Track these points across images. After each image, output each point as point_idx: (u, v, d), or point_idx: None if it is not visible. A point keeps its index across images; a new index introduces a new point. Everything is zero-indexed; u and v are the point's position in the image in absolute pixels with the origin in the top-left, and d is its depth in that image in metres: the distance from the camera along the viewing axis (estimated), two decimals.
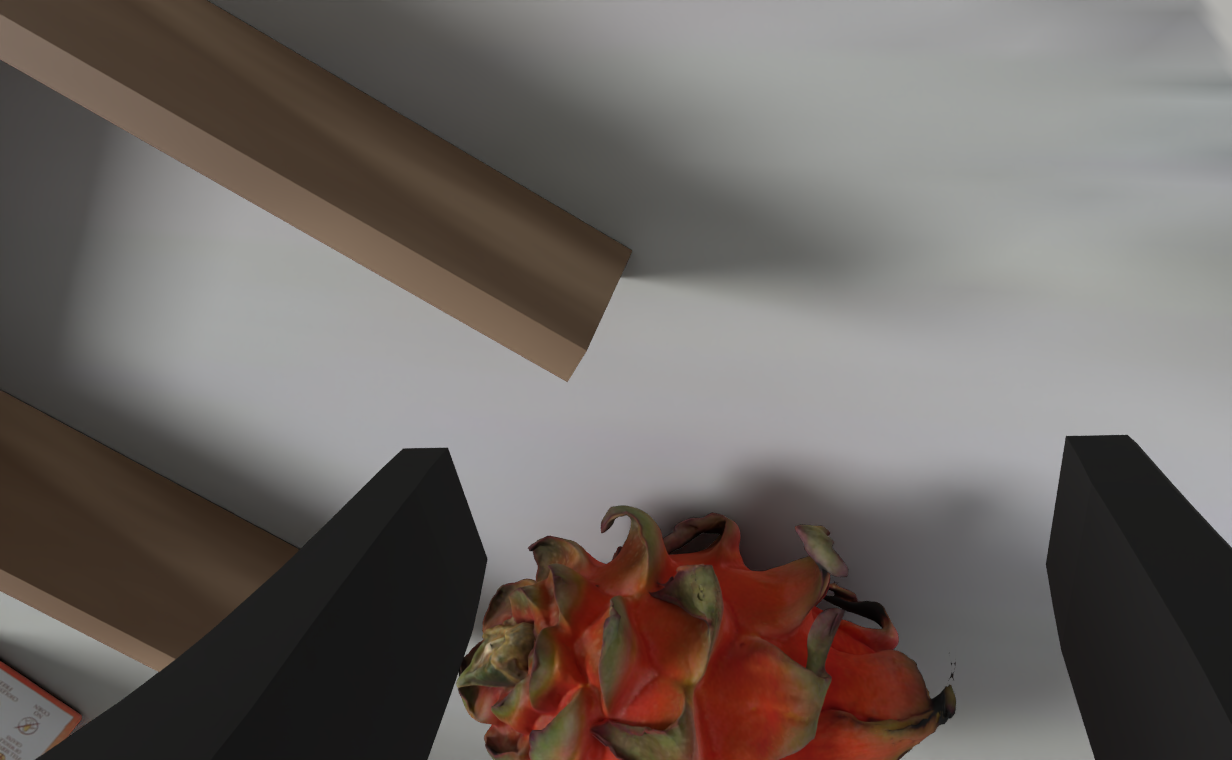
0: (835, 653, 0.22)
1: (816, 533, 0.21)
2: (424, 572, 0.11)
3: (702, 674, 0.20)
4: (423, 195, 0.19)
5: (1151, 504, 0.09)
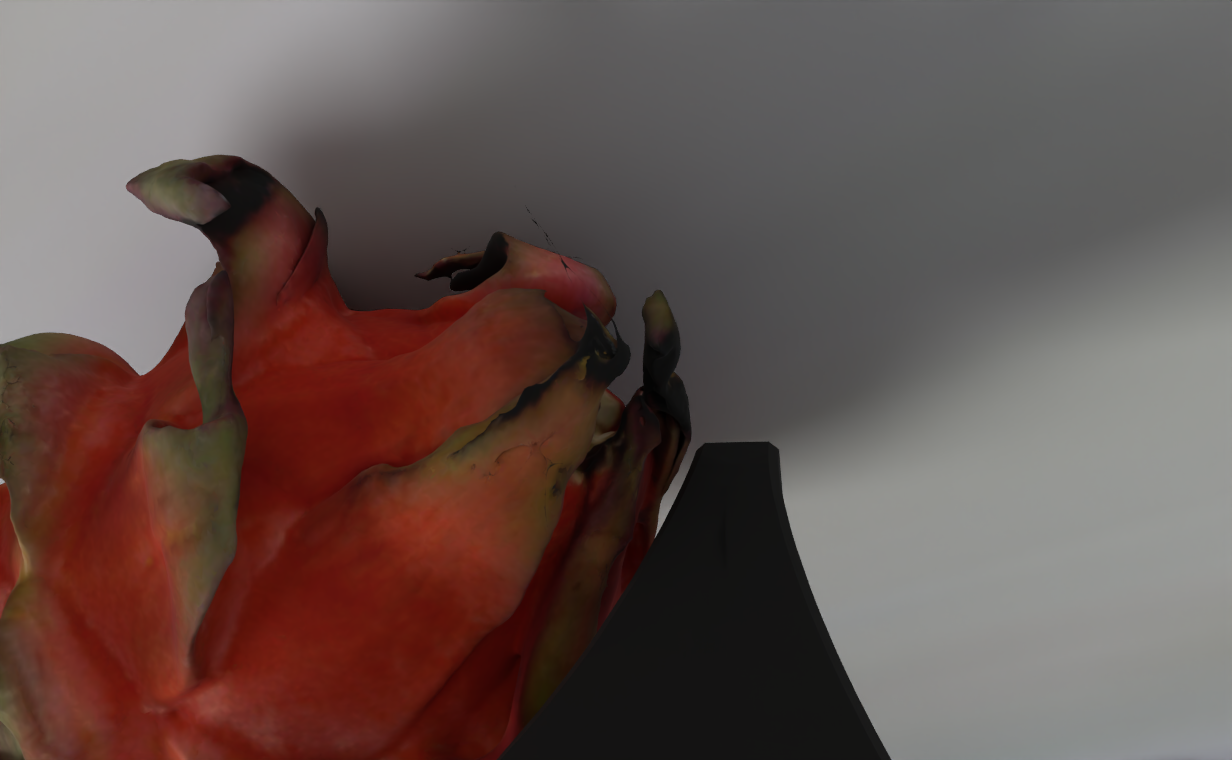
0: (371, 366, 0.10)
1: (161, 168, 0.10)
2: None
3: (25, 549, 0.09)
4: None
5: (744, 506, 0.09)
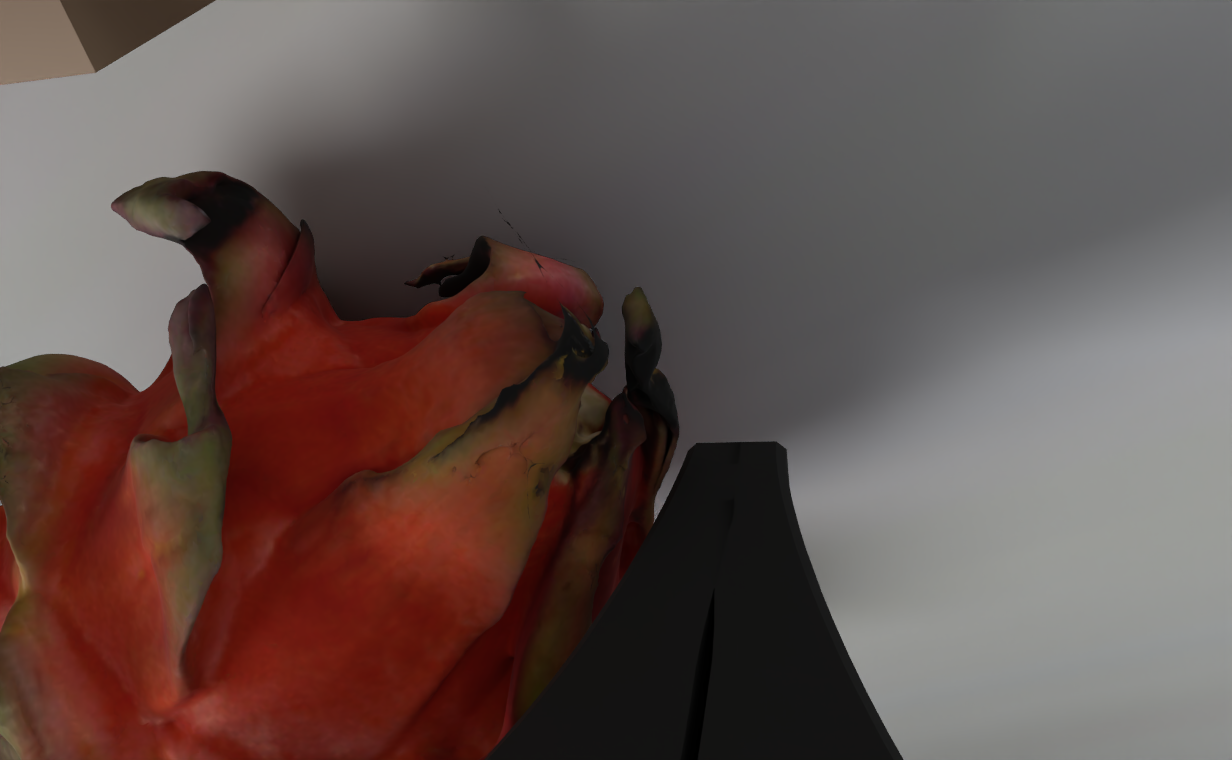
0: (356, 374, 0.10)
1: (145, 187, 0.10)
2: None
3: (22, 566, 0.09)
4: None
5: (752, 506, 0.09)
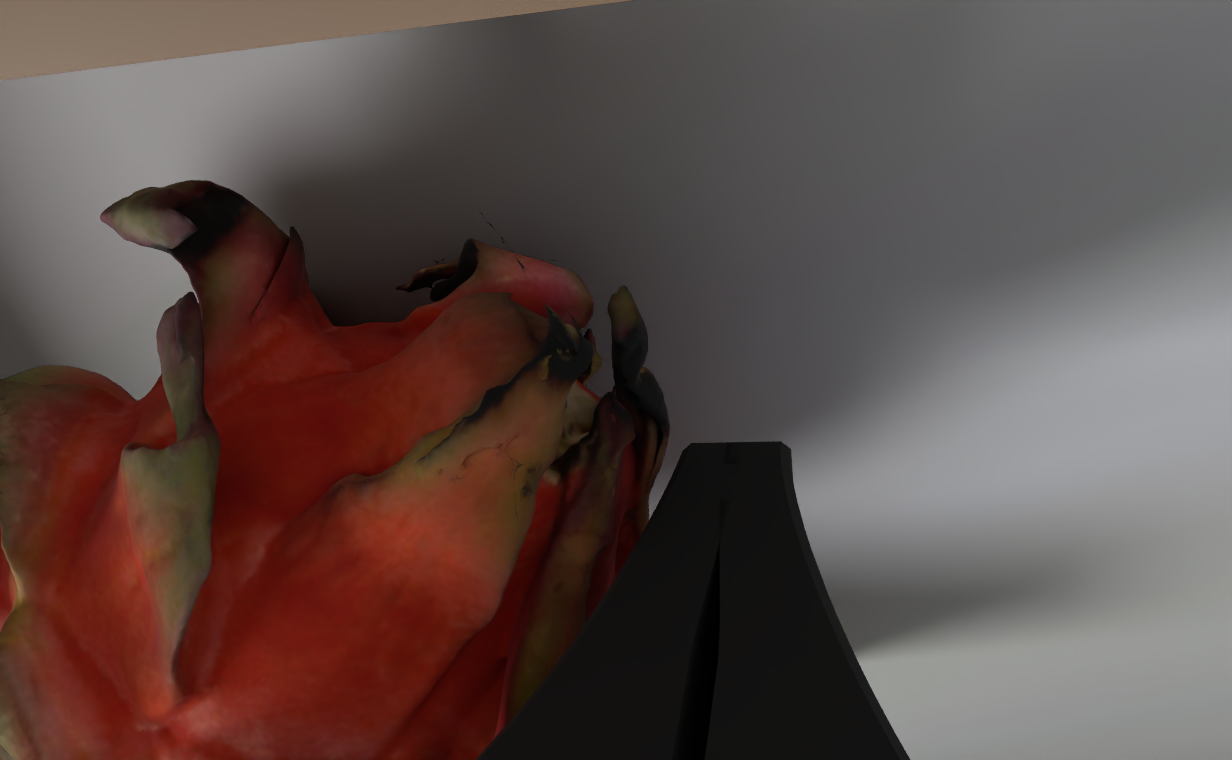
0: (345, 379, 0.10)
1: (132, 197, 0.10)
2: None
3: (17, 576, 0.09)
4: None
5: (757, 506, 0.09)
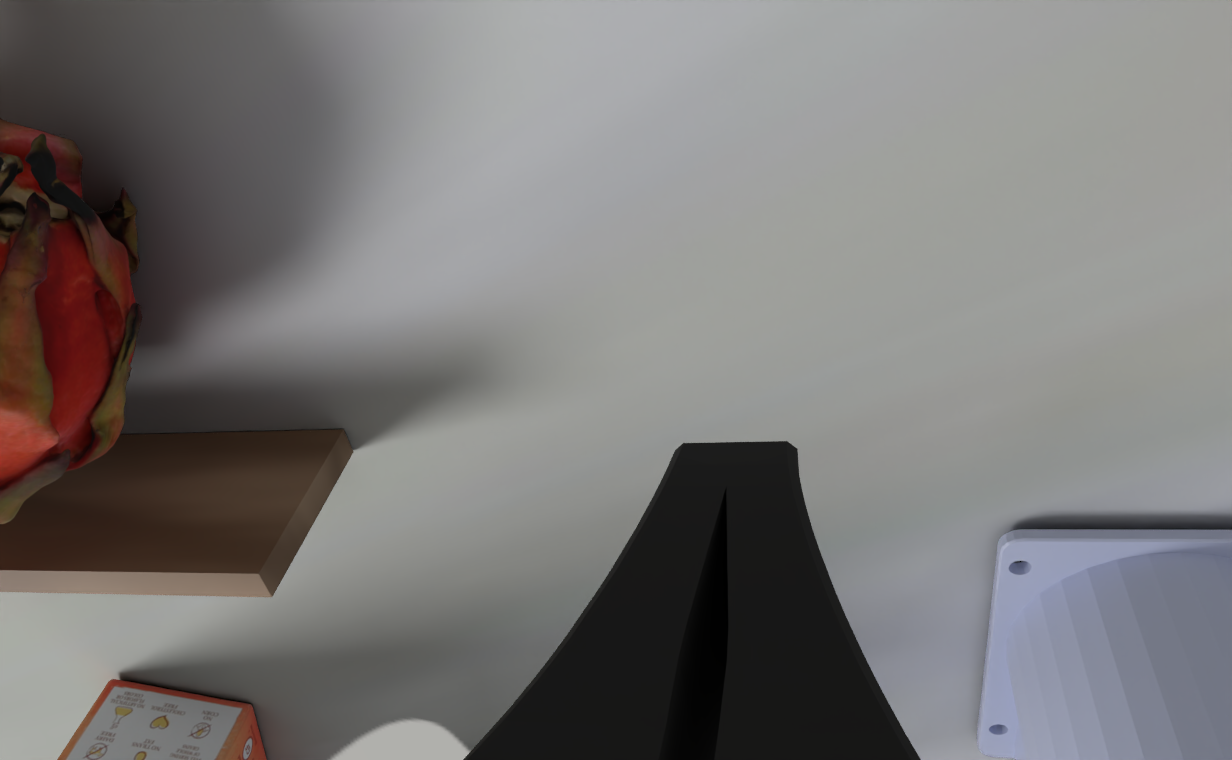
0: None
1: None
2: None
3: None
4: None
5: (764, 506, 0.09)
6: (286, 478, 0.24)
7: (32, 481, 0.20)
